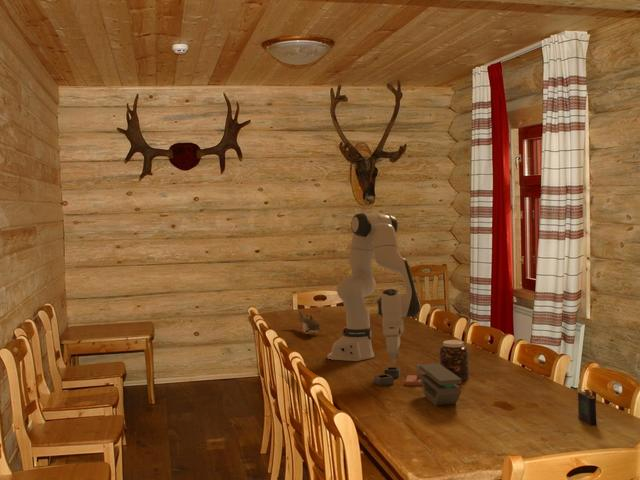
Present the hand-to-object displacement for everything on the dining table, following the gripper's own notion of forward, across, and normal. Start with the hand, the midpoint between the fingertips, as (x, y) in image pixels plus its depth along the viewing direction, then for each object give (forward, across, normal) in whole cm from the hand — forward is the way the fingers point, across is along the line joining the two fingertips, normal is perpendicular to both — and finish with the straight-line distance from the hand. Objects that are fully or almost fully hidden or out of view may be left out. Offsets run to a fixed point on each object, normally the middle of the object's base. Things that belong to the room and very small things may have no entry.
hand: (395, 360), depth 302 cm
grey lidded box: (+8, +35, +20) cm, 41 cm away
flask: (+9, +57, +68) cm, 89 cm away
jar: (+8, +3, +24) cm, 26 cm away
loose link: (+7, +13, -4) cm, 15 cm away
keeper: (+7, +10, +10) cm, 16 cm away
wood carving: (+4, -94, -58) cm, 111 cm away
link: (+7, 0, -1) cm, 7 cm away
